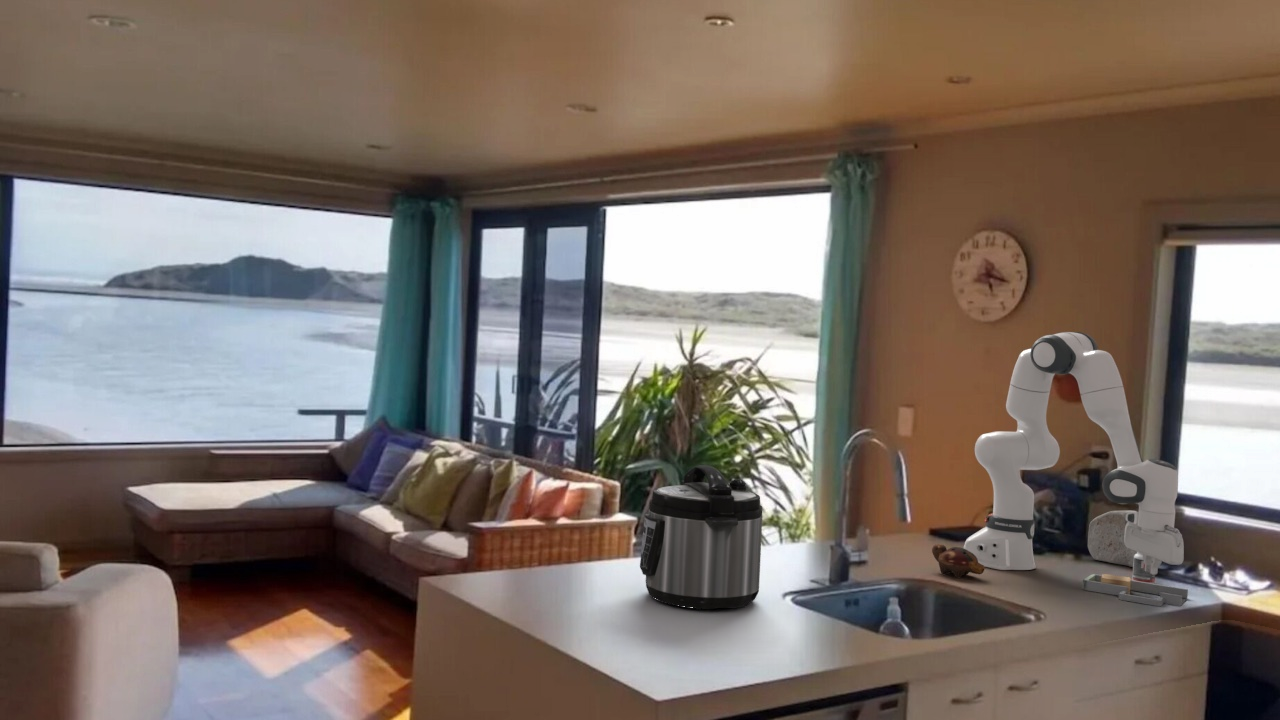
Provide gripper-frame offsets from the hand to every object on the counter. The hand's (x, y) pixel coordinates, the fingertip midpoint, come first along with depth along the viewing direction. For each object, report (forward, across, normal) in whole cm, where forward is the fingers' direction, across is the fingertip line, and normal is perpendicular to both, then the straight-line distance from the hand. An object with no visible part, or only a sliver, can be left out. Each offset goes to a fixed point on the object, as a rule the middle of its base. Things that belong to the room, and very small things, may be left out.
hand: (1150, 573), depth 300 cm
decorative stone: (+8, +39, -19) cm, 44 cm away
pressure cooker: (+7, -7, +125) cm, 125 cm away
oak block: (+6, +4, +7) cm, 10 cm away
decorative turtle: (+7, +21, +44) cm, 50 cm away
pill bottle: (+7, +15, -9) cm, 19 cm away
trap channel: (+6, 0, +5) cm, 8 cm away
